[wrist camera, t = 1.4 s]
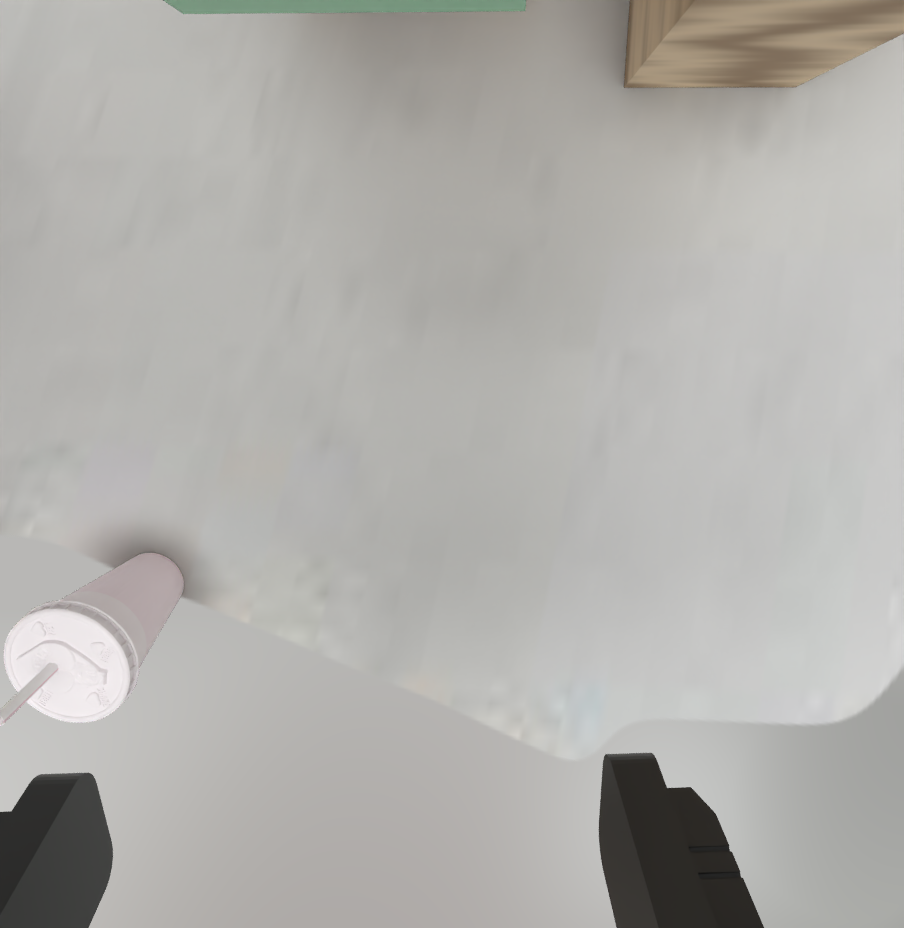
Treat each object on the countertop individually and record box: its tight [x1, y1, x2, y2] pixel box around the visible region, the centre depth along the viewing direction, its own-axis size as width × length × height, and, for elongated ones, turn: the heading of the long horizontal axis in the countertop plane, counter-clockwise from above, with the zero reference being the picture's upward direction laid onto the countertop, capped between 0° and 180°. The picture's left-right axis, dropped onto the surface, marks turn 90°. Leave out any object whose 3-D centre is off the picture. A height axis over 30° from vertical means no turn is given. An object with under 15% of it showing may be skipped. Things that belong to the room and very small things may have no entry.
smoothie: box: [0, 553, 184, 726], centre depth 39 cm, size 6×6×14 cm
